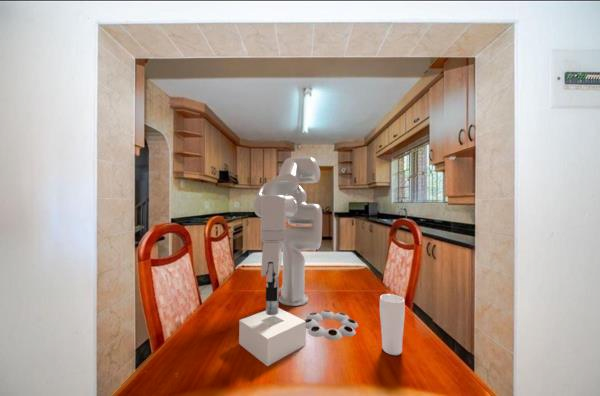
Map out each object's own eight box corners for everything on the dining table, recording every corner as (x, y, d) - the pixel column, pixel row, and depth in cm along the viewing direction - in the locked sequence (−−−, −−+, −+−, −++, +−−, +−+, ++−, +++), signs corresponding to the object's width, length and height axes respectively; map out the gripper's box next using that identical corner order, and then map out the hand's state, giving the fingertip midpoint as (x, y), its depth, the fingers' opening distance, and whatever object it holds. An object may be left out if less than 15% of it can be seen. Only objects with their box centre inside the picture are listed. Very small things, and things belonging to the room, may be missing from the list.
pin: (263, 312, 74) (264, 271, 74) (273, 309, 76) (273, 269, 77) (271, 316, 71) (271, 274, 72) (280, 312, 74) (281, 271, 74)
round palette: (325, 308, 100) (325, 303, 100) (369, 326, 86) (369, 320, 86) (289, 325, 87) (289, 319, 87) (335, 349, 73) (335, 342, 73)
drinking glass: (375, 344, 74) (376, 293, 75) (397, 343, 75) (397, 293, 75) (385, 358, 68) (385, 303, 68) (409, 357, 68) (409, 302, 68)
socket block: (239, 343, 74) (239, 320, 74) (276, 327, 84) (276, 306, 84) (267, 366, 64) (267, 338, 64) (305, 344, 74) (305, 321, 74)
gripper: (265, 232, 83) (264, 288, 82) (255, 239, 66) (254, 309, 66) (287, 233, 83) (286, 288, 82) (283, 239, 66) (282, 310, 66)
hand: (272, 297), depth 74 cm, fingers closed on pin, 3 cm apart
